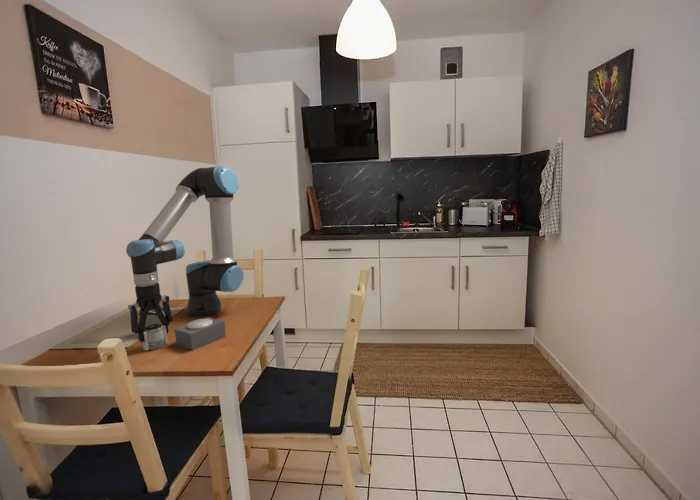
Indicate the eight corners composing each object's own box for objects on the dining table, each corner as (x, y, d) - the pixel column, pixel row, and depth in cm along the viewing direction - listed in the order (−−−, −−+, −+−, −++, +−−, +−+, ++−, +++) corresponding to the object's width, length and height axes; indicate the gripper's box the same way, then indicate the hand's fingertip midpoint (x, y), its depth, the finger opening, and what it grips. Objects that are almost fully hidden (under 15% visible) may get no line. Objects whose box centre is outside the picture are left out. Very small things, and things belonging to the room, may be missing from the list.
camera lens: (169, 344, 138) (166, 323, 136) (153, 351, 132) (151, 330, 131) (157, 342, 140) (154, 321, 139) (141, 348, 135) (138, 328, 133)
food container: (177, 331, 150) (174, 307, 149) (165, 337, 145) (162, 312, 143) (153, 329, 154) (150, 305, 153) (140, 334, 149) (137, 310, 147)
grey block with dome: (175, 344, 138) (172, 326, 137) (208, 331, 149) (206, 314, 148) (192, 350, 132) (190, 332, 131) (225, 336, 143) (224, 319, 142)
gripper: (123, 292, 122) (133, 358, 126) (178, 278, 138) (185, 338, 142) (112, 289, 126) (122, 353, 130) (167, 276, 142) (174, 334, 146)
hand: (155, 345), depth 136 cm, fingers closed on camera lens, 6 cm apart
